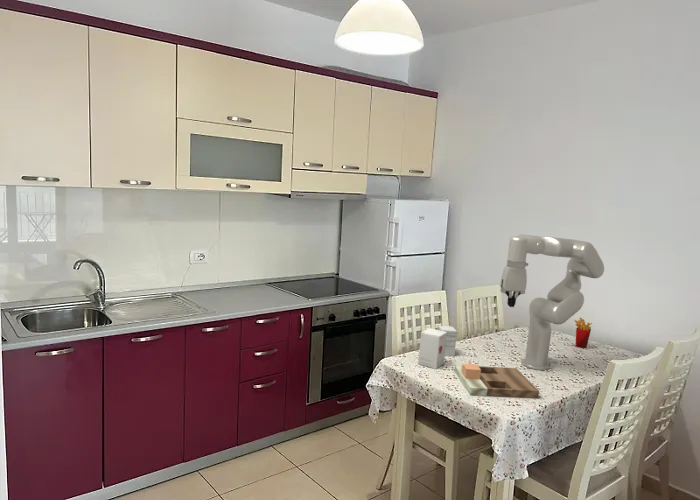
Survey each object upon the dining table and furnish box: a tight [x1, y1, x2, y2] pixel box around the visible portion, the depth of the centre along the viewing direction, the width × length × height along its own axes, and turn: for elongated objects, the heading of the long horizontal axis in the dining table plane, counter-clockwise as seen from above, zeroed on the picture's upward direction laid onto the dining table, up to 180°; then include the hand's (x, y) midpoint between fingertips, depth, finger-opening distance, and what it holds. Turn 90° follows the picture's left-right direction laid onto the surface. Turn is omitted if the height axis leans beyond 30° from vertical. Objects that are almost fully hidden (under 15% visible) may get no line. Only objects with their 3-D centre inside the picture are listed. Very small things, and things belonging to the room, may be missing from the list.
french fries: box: [574, 317, 593, 349], centre depth 272 cm, size 9×8×15 cm
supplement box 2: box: [437, 325, 458, 357], centre depth 245 cm, size 7×7×13 cm
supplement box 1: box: [417, 327, 447, 370], centre depth 229 cm, size 9×9×15 cm
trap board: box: [454, 364, 540, 399], centre depth 212 cm, size 27×24×3 cm
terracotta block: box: [462, 363, 481, 379], centre depth 211 cm, size 6×6×4 cm
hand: (511, 306), depth 225 cm, fingers closed
